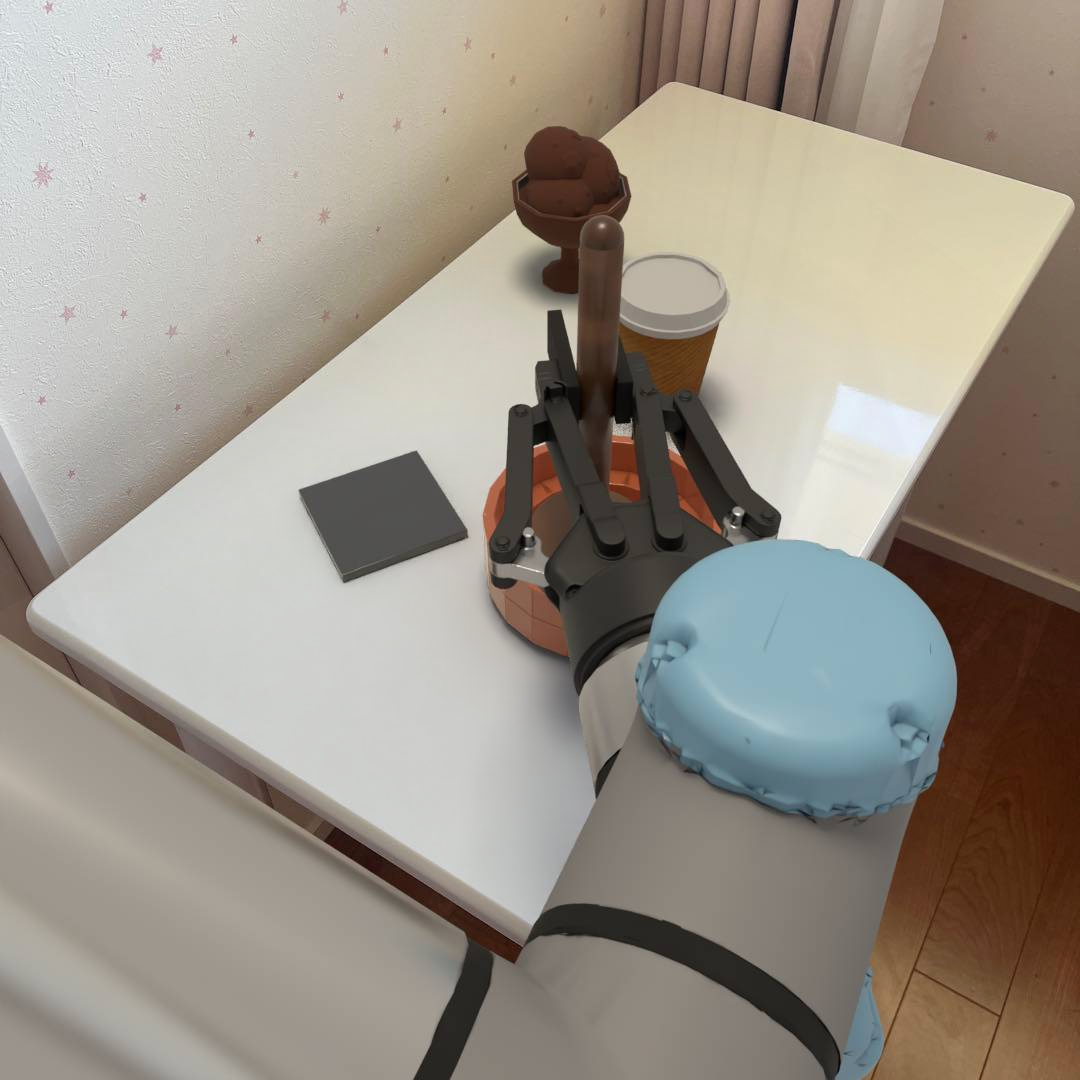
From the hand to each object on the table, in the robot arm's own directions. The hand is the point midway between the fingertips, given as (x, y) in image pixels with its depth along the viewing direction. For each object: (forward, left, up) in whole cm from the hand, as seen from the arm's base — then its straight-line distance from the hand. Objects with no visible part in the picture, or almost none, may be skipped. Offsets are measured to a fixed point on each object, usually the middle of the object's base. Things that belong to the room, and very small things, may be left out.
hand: (578, 329), depth 60 cm
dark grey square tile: (-8, +15, -25) cm, 31 cm away
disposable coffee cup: (+18, +17, -25) cm, 35 cm away
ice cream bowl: (+20, +37, -25) cm, 49 cm away
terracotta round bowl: (+4, +2, -25) cm, 25 cm away
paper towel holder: (-2, -5, -13) cm, 14 cm away
